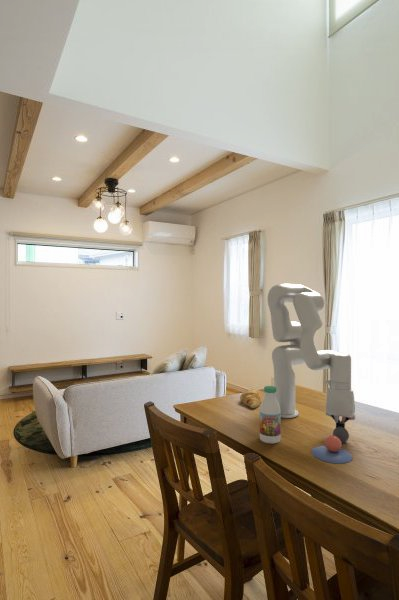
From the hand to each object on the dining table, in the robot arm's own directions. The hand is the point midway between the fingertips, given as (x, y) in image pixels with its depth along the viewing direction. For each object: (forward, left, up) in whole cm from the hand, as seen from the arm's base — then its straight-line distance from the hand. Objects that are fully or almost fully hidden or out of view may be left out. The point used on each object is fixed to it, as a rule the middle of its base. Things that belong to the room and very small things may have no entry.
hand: (340, 432), depth 134 cm
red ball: (-4, -15, +1) cm, 16 cm away
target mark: (-5, -18, -2) cm, 18 cm away
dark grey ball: (0, -6, +1) cm, 6 cm away
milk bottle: (-26, -11, -2) cm, 28 cm away
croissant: (-39, +33, -2) cm, 51 cm away
